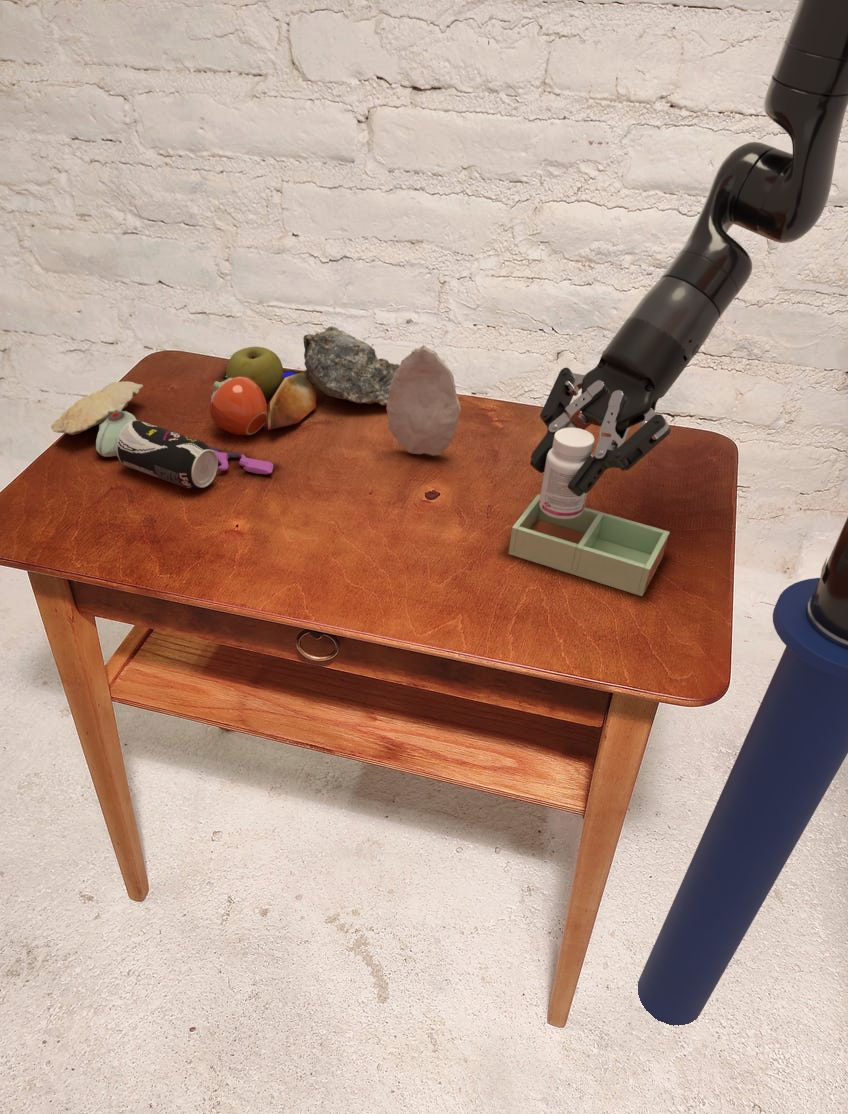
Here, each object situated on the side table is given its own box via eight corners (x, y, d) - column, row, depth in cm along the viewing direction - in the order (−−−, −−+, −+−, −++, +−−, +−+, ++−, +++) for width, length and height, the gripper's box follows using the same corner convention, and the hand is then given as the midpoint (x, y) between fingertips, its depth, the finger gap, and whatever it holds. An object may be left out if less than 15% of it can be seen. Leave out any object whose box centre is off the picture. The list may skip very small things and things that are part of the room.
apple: (220, 411, 118) (214, 361, 114) (243, 386, 124) (238, 337, 120) (272, 419, 117) (269, 368, 112) (293, 394, 123) (291, 344, 118)
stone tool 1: (91, 450, 109) (160, 398, 119) (79, 419, 106) (150, 369, 116) (41, 447, 112) (112, 397, 122) (29, 417, 110) (102, 369, 120)
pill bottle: (591, 517, 92) (606, 445, 86) (549, 523, 91) (562, 451, 85) (572, 493, 95) (586, 422, 90) (531, 498, 94) (543, 428, 89)
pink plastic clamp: (280, 462, 107) (258, 478, 104) (280, 469, 108) (258, 485, 104) (145, 425, 114) (120, 438, 111) (146, 432, 115) (121, 445, 111)
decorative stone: (256, 393, 109) (239, 401, 111) (276, 436, 111) (259, 442, 113) (313, 363, 120) (296, 370, 121) (330, 403, 121) (314, 409, 123)
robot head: (130, 470, 108) (162, 434, 111) (115, 445, 104) (148, 408, 107) (85, 459, 111) (117, 425, 114) (69, 434, 108) (102, 400, 111)
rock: (409, 337, 114) (357, 378, 110) (415, 398, 122) (367, 439, 118) (331, 303, 120) (280, 341, 117) (342, 363, 128) (294, 401, 125)
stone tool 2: (457, 454, 111) (468, 338, 101) (455, 467, 109) (466, 350, 99) (386, 447, 112) (389, 332, 102) (382, 459, 110) (385, 343, 100)
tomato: (283, 412, 115) (243, 372, 117) (269, 392, 108) (225, 350, 109) (244, 452, 116) (204, 412, 117) (227, 435, 108) (184, 393, 110)
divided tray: (662, 558, 95) (670, 531, 92) (642, 596, 90) (650, 569, 87) (533, 519, 100) (538, 493, 98) (508, 554, 95) (512, 527, 93)
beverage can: (147, 417, 108) (224, 443, 103) (142, 463, 110) (218, 490, 106) (113, 419, 103) (193, 446, 99) (109, 466, 105) (187, 495, 101)
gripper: (592, 294, 88) (490, 436, 91) (709, 343, 80) (592, 498, 82) (618, 334, 94) (521, 465, 97) (728, 383, 86) (619, 526, 88)
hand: (554, 479), depth 90 cm, fingers closed on pill bottle, 4 cm apart
